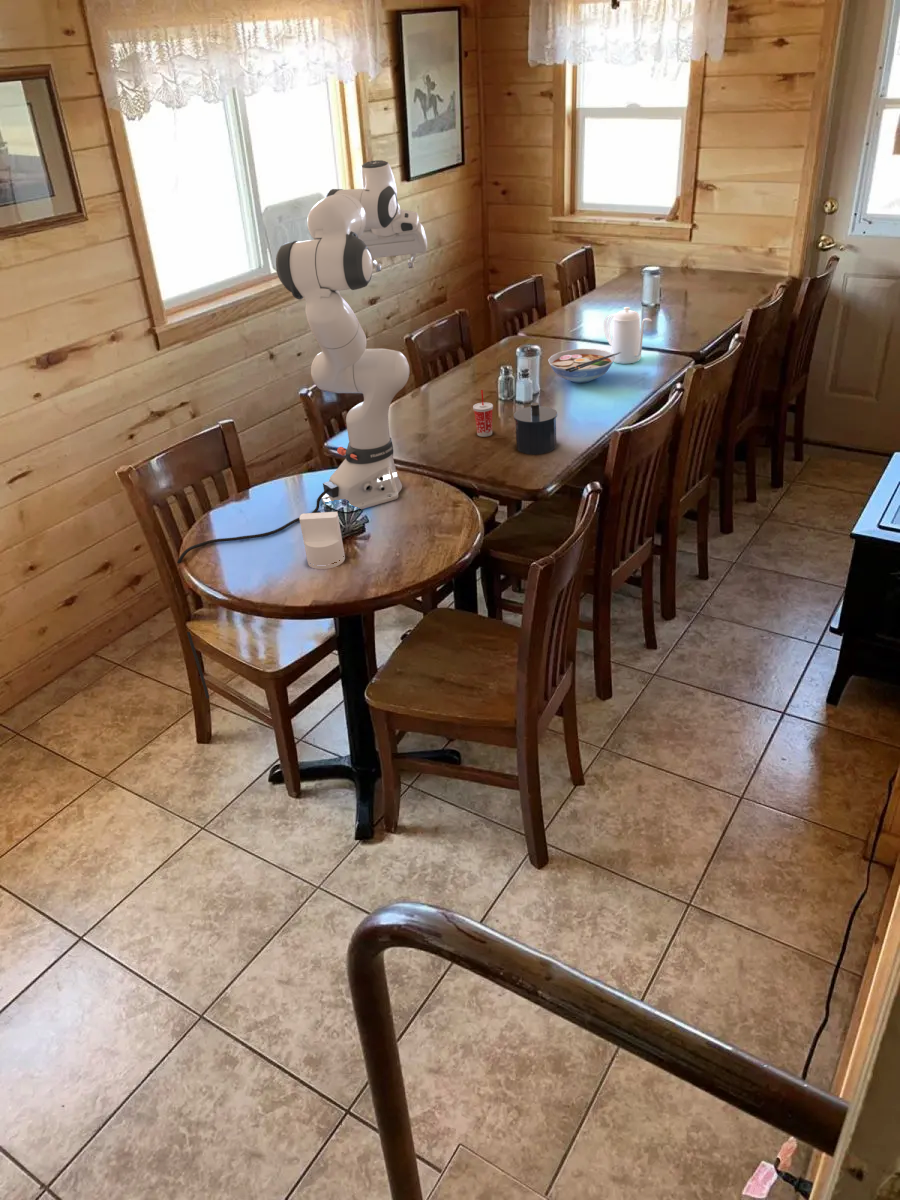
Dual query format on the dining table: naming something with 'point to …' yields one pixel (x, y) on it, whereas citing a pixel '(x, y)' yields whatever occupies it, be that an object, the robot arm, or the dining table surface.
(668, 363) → the dining table surface
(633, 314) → the coffeepot
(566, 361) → the ramen bowl
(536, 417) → the pot lid
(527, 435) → the pot
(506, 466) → the dining table surface
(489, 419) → the beverage cup
